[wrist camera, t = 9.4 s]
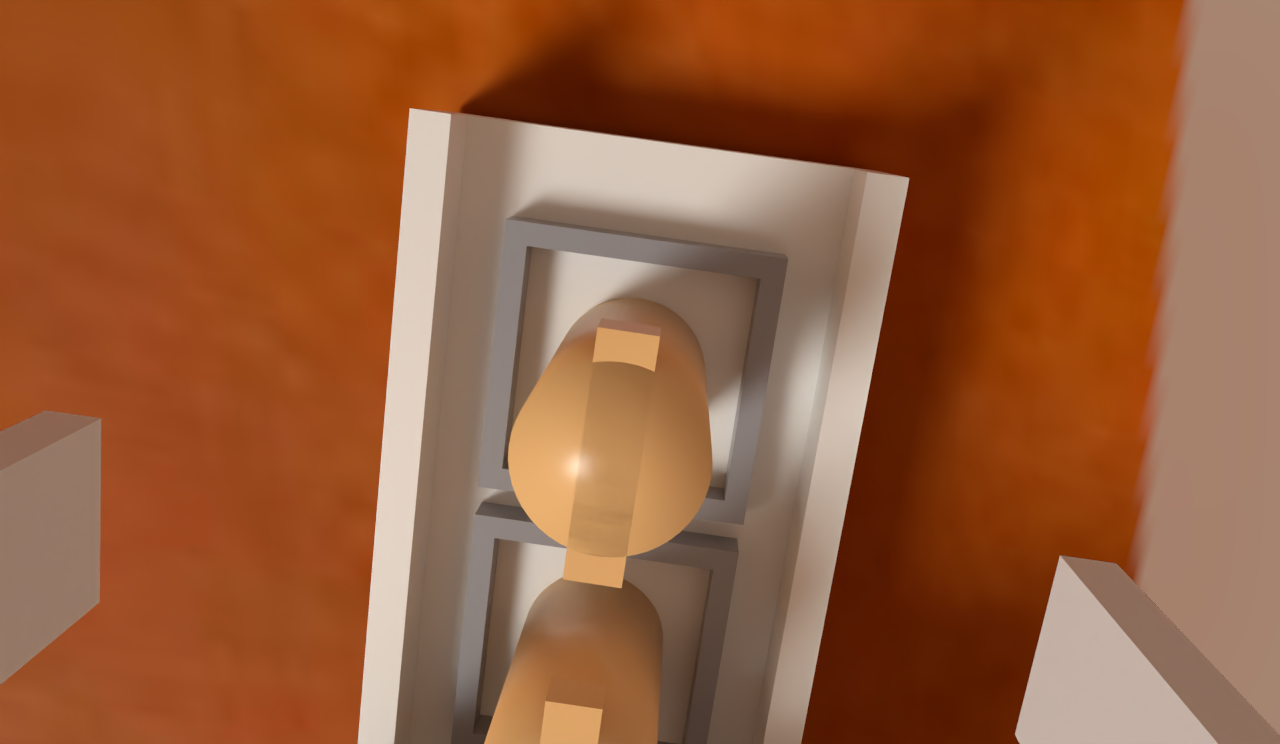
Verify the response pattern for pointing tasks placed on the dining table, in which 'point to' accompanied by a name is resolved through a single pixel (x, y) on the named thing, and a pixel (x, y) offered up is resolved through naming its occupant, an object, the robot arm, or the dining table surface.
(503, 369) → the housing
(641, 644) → the tan rounded piece
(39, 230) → the dining table surface
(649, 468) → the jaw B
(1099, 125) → the dining table surface
